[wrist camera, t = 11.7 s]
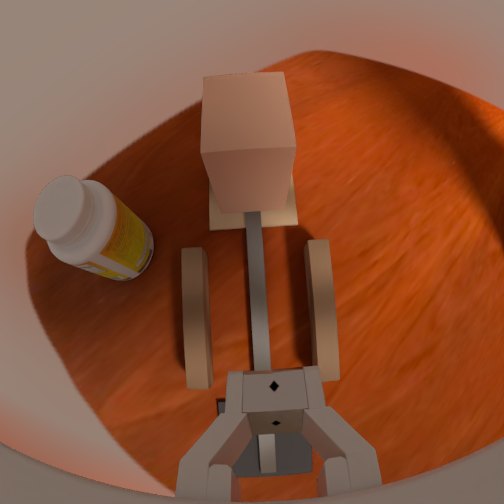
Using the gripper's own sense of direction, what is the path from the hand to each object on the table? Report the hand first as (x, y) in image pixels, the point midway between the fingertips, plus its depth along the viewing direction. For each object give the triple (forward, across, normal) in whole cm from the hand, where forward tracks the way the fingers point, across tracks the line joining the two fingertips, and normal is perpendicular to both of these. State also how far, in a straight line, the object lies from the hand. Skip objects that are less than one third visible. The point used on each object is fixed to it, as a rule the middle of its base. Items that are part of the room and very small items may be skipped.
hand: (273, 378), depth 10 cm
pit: (+4, +1, +14) cm, 15 cm away
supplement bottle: (+15, +12, +3) cm, 19 cm away
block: (+18, +1, -1) cm, 19 cm away
